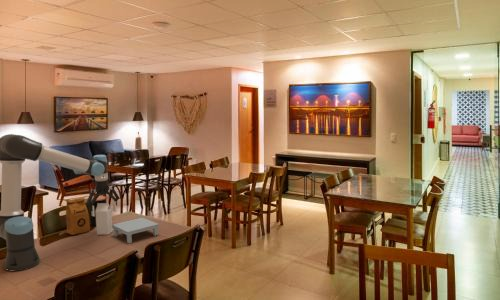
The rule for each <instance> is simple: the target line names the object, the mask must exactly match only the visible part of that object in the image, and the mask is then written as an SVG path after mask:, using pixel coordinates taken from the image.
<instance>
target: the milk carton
mask: <svg viewBox="0 0 500 300" xmlns="http://www.w3.org/2000/svg"><path fill="white" fill-rule="evenodd" d="M112 211H113V210H112V207H111V206H110V204H109V203H107V202H106V203H97V208H96V211H95V213H96V226H95V228H96V235H100V236H104V235H107V236H108V235H109V234H111V233H112V232H114V228H112V225H113V215H112V213H113V212H112Z"/></svg>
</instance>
